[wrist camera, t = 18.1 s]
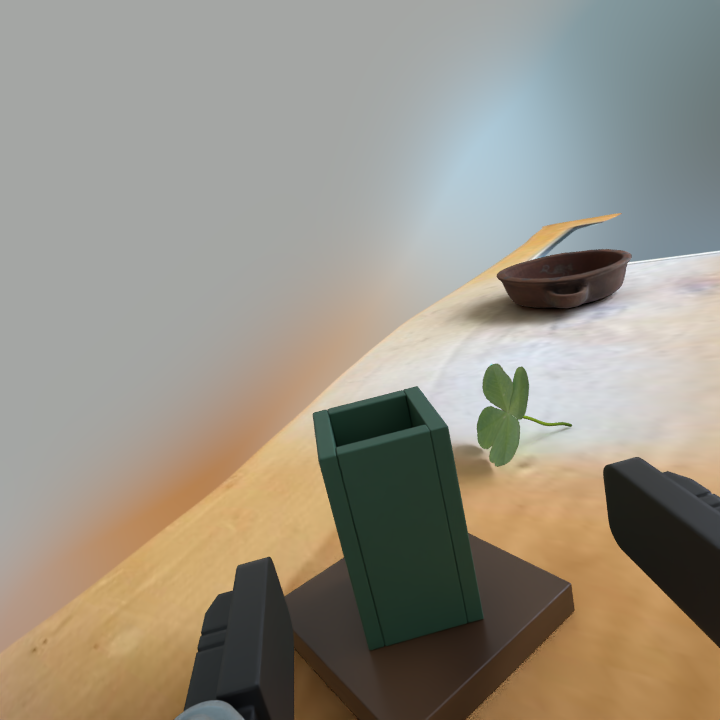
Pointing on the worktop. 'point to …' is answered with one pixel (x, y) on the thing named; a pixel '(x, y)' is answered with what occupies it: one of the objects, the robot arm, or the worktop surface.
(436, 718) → the brown peg stand
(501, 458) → the green leafy piece
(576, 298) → the dish
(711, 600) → the robot arm
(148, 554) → the worktop surface
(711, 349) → the worktop surface
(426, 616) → the sleeve
